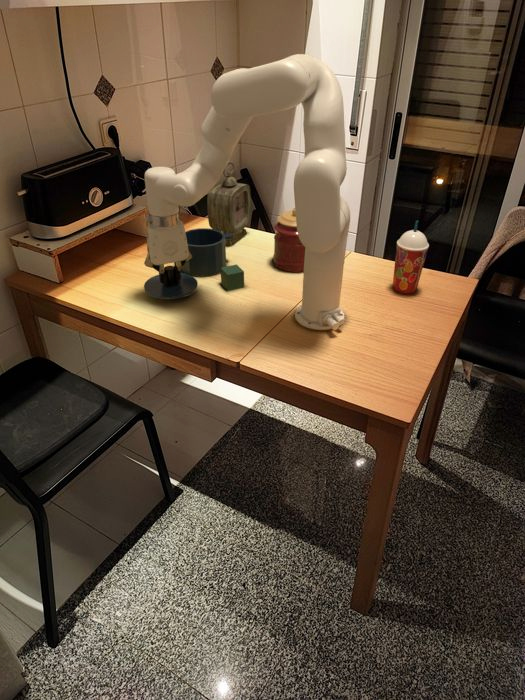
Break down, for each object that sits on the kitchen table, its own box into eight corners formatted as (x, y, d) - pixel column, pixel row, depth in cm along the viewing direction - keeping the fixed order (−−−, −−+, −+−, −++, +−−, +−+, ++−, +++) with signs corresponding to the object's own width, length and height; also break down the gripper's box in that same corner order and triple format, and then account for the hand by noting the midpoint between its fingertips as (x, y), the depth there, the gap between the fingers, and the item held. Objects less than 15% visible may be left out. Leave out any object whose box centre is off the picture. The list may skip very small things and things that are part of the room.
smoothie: (424, 288, 147) (439, 221, 135) (409, 299, 142) (423, 229, 130) (399, 279, 151) (410, 213, 140) (383, 289, 146) (394, 221, 135)
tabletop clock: (231, 248, 169) (229, 170, 154) (207, 243, 172) (203, 166, 158) (251, 232, 180) (250, 158, 165) (228, 228, 183) (225, 155, 168)
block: (244, 287, 147) (244, 271, 144) (228, 290, 145) (227, 274, 142) (237, 280, 150) (236, 264, 147) (221, 283, 148) (220, 267, 146)
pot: (241, 269, 156) (241, 239, 150) (181, 282, 149) (178, 251, 143) (223, 252, 166) (222, 224, 160) (166, 263, 159) (163, 234, 153)
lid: (205, 294, 140) (204, 273, 136) (153, 305, 135) (150, 284, 131) (187, 272, 151) (185, 252, 147) (138, 282, 145) (135, 262, 142)
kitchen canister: (324, 266, 158) (328, 209, 148) (290, 276, 152) (292, 218, 142) (298, 251, 167) (301, 197, 157) (265, 260, 161) (265, 205, 151)
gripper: (136, 228, 125) (145, 295, 136) (199, 218, 131) (203, 283, 142) (128, 218, 131) (137, 283, 141) (189, 209, 137) (194, 272, 147)
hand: (170, 282), depth 142 cm, fingers closed on lid, 2 cm apart
